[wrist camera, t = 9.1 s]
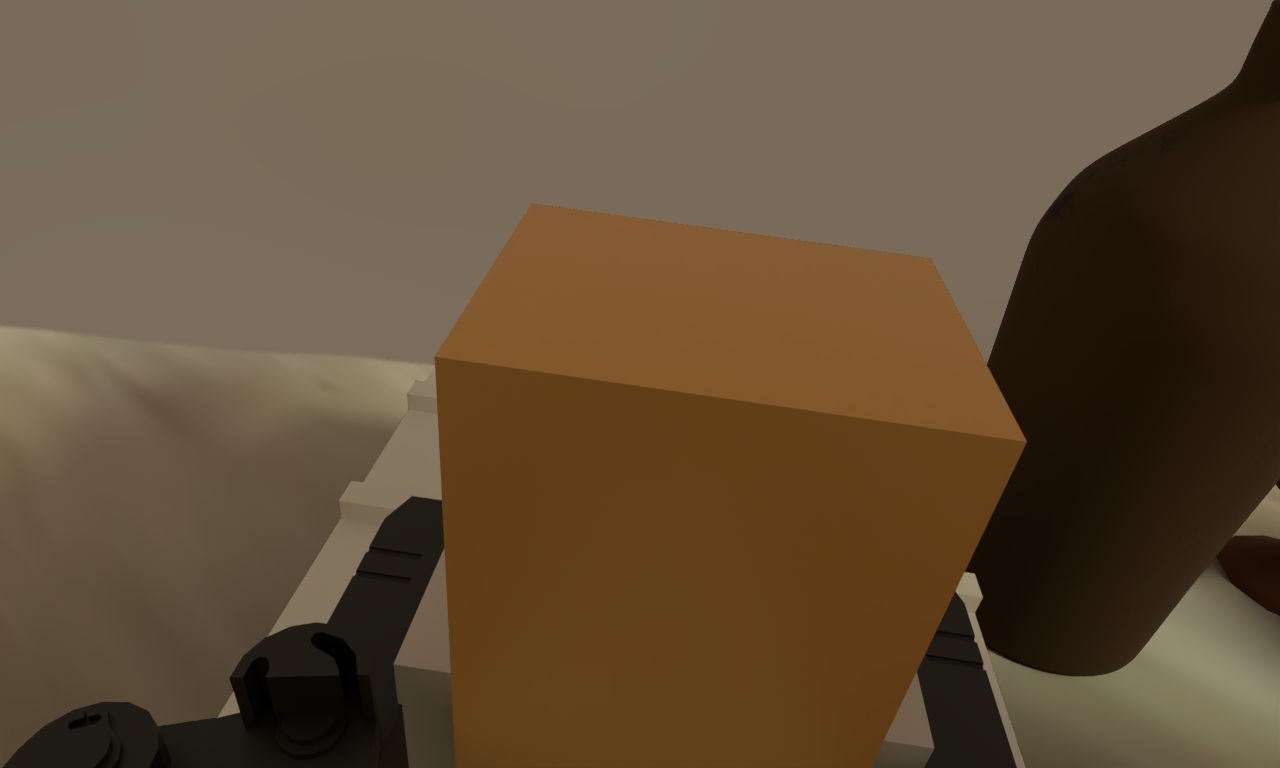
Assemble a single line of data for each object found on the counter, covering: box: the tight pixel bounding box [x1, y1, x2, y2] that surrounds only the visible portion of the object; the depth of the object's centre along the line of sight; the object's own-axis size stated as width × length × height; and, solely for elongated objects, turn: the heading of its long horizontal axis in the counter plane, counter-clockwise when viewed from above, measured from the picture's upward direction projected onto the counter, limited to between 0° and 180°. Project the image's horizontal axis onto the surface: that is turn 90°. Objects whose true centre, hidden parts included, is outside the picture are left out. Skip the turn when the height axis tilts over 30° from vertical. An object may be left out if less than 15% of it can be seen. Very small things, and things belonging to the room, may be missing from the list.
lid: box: [217, 204, 1027, 768], centre depth 18 cm, size 17×21×14 cm
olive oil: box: [965, 0, 1280, 676], centre depth 28 cm, size 11×11×25 cm
